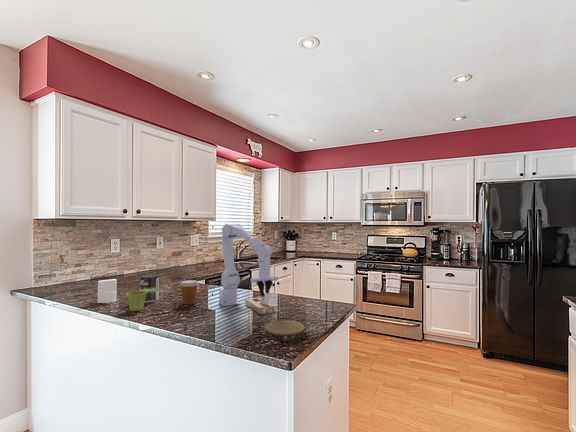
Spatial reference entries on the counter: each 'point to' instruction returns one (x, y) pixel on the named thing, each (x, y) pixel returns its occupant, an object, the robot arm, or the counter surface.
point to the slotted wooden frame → (260, 306)
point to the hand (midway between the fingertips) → (264, 295)
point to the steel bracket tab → (264, 299)
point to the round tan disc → (284, 330)
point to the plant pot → (136, 300)
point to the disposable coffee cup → (189, 291)
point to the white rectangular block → (107, 291)
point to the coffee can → (150, 287)
